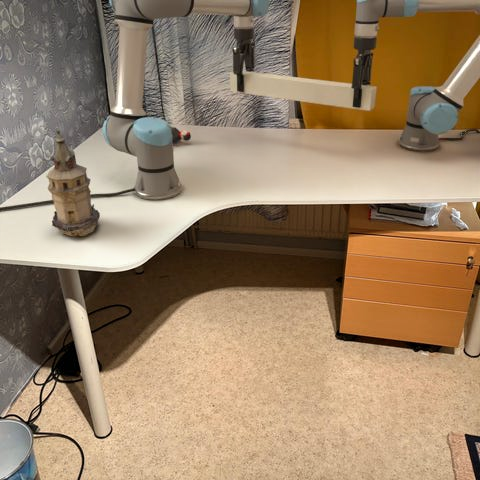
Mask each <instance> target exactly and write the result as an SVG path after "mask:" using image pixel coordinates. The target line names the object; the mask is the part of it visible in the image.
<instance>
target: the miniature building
mask: <svg viewBox="0 0 480 480" xmlns="http://www.w3.org/2000/svg"><path fill="white" fill-rule="evenodd" d="M56 134H57V136H56V138H55V140H54V141H55V142H56V147H55V154H54V156H52V157H51V161H52V162H53V165H54V167H53V168H51V169H50V170H49V171H48V173H47V174H46V178H47V179H48V182H49V184H48V186H47V190H48V191H49V193H50V194H51V200H53V201H54V203H53V205H54V209H55V211H53V217H52V220H51V223H52V225H51V227H54V228H56V229H58V230H59V231H60V234H63V235H64V234H65V235H66V236H69V237H77V236H80V237H83V236H87V235H88V234H90V233H93V232H94V231H95V229H96V226H97V225H98V223H99V220H100V216H101V213H100V212H99V210H98V209H96V208H95V204H92V201H91V200H92V199H91V198H92V197H90V194H91V192H92V191H91V188H90V184H91V178H89V177H88V174H87V167H85V166H84V165H83V166H82V165H80V164H77V160H76V154H75V151H74V150H70V149H69V147H68V145H67V143H66V138H65V137H64V136H63V135H61V130H60V129H56Z"/></svg>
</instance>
